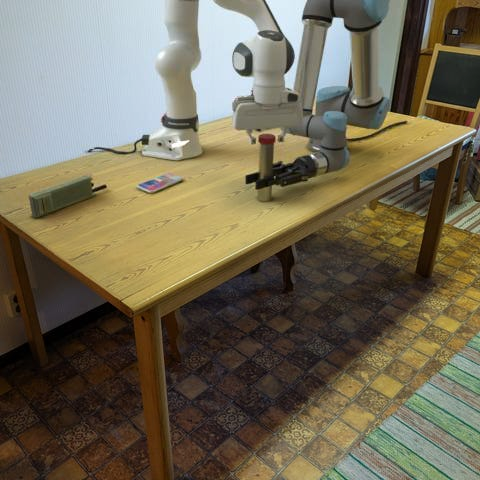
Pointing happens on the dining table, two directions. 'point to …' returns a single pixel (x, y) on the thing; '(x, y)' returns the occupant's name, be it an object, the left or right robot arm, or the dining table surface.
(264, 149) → the olive cylindrical rod
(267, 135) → the lid
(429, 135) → the dining table surface
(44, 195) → the handheld radio
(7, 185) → the dining table surface
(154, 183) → the smartphone
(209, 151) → the dining table surface
